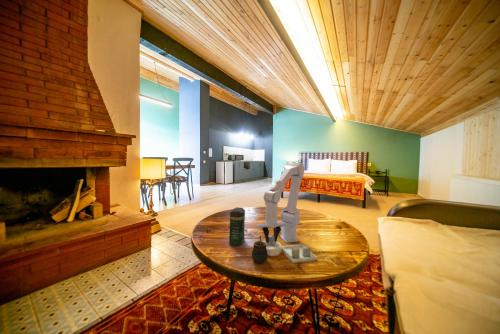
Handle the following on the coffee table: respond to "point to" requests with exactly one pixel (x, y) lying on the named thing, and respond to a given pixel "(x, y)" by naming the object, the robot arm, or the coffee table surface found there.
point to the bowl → (274, 249)
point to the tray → (288, 253)
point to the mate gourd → (259, 252)
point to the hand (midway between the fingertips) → (270, 241)
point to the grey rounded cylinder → (271, 240)
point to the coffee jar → (237, 226)
